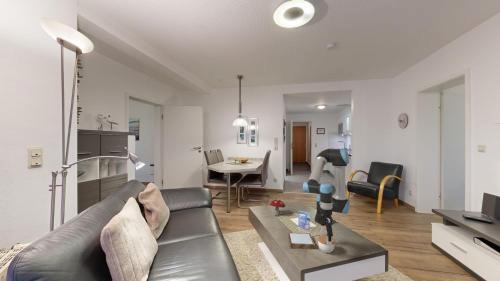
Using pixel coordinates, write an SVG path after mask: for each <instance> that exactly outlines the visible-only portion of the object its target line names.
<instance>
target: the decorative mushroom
mask: <svg viewBox="0 0 500 281" xmlns="http://www.w3.org/2000/svg"><path fill="white" fill-rule="evenodd" d="M268 203H269V204H268V205H269V206H271V207H275V208H274V212H273V213H274V216H276V217H277V216H280V214H281V213H280V209H279V208H286V203H284V202H283V201H282V200H281V199H279V198H277V199H273V200H272V201H270V202H268Z"/></svg>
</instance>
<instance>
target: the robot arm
mask: <svg viewBox="0 0 500 281" xmlns="http://www.w3.org/2000/svg"><path fill="white" fill-rule="evenodd" d="M327 163H329V164H331V166H332V167H333V181H334V182H333V183H334V184H333V183H319V182H320V181H321V177H322V175H323V172H324V169H325V166H326V165H327ZM348 164H350V155H349V152H348V150H347V149H342V148H336V149H335V148H326V149H323V150H321V151H320V152H319V153H318V154H317V155H316V157H315V160H314V165H313V167H312V170H311V174H310V176H309V178H308V181H304V182H303V184H302V190H303V191H302V192H304V193H308V194H316V195H317V196H316V201H315V202H316V212H315V215H314V222H315V223H317V224H320V235H326V236H327V246H332V238H334V234H333V233H334V232H333V226H332V224H333V222H334V221H333V217H332V215H333V212H335V213H338V214H343V215H344V214H345V215H347V214H348V213H349V209H350V203H351V201H350V199H348V196H347V194H346V167H347V166H348Z"/></svg>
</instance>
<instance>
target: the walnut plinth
mask: <svg viewBox="0 0 500 281" xmlns="http://www.w3.org/2000/svg"><path fill="white" fill-rule="evenodd" d="M287 236H288V243H289V248H290V249H297V250H298V249H303V250H305V249H306V250H316V245H315V242H314V240H313V237H312V236H311V233H305V232H288V233H287Z"/></svg>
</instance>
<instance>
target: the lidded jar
mask: <svg viewBox="0 0 500 281" xmlns="http://www.w3.org/2000/svg"><path fill="white" fill-rule="evenodd" d="M326 235H327V234H325V235H321V234H320V235H318V237H317V244H318V245H317V246H318V248H319V249H320V250H321V252H322V253H325V254H331V253H332V252H333V251H334V250H335V247H336V240H335V238H334V237H332V246H327V236H326Z"/></svg>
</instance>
